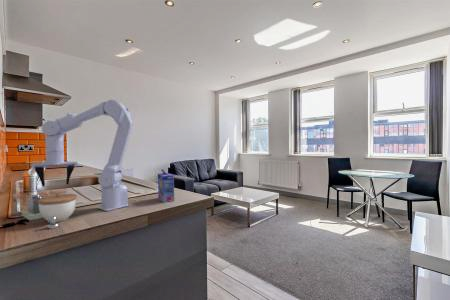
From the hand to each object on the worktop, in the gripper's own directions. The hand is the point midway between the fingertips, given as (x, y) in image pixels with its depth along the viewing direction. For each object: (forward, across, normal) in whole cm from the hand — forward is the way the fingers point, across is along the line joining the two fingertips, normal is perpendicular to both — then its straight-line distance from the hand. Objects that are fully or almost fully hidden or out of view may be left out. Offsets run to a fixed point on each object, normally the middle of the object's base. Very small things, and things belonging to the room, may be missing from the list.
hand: (55, 185), depth 89 cm
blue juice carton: (+10, +42, -11) cm, 44 cm away
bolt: (+10, 0, -23) cm, 25 cm away
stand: (+10, -6, -5) cm, 12 cm away
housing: (+8, -5, -5) cm, 11 cm away
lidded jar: (+10, +1, -15) cm, 18 cm away
